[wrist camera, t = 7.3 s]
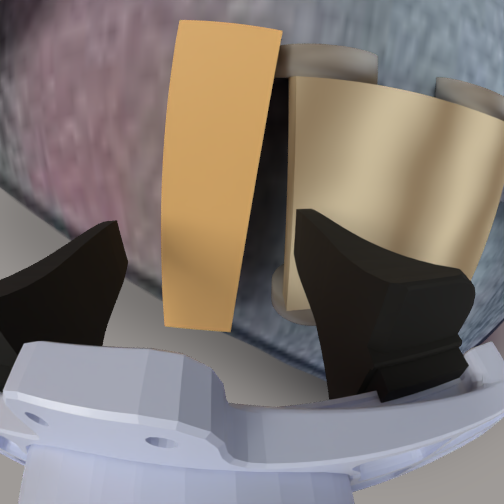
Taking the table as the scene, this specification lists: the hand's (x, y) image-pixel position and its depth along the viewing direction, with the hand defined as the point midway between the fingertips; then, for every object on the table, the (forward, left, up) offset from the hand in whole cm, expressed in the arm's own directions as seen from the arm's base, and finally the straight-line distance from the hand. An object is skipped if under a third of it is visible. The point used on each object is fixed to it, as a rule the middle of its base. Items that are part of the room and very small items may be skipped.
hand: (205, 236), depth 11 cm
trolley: (-11, 0, -7) cm, 13 cm away
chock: (0, 0, -7) cm, 7 cm away
